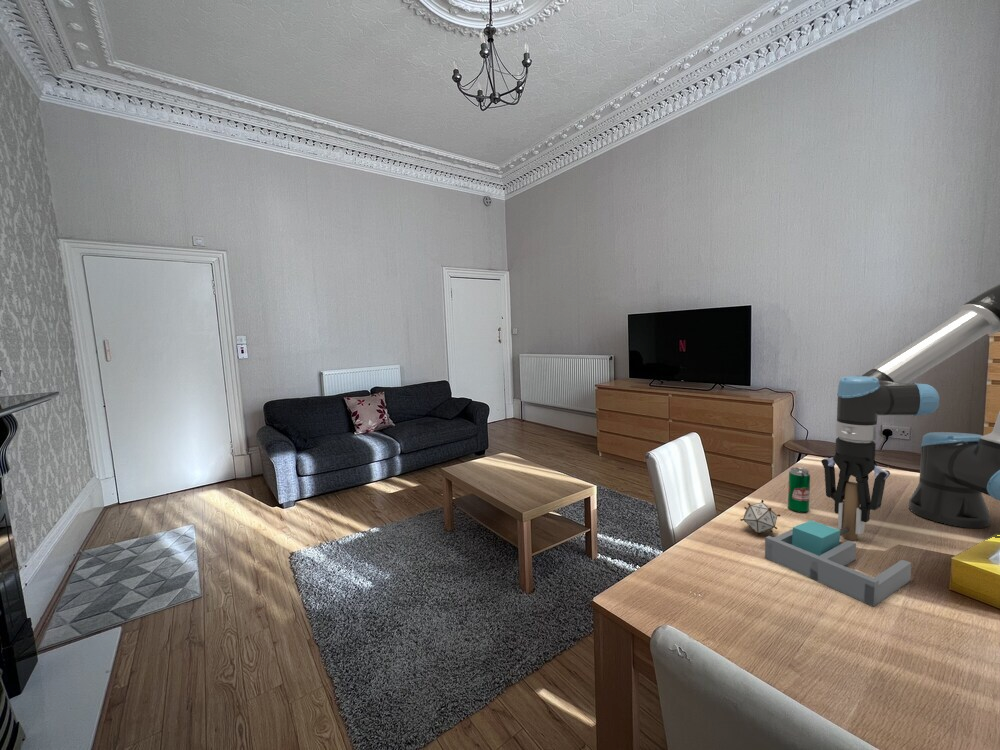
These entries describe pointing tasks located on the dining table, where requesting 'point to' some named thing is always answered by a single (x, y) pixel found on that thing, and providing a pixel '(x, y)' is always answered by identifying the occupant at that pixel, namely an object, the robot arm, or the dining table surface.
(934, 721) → the dining table surface
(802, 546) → the teal block-headed stick
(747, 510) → the game die
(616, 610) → the dining table surface
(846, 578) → the lane rack
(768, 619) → the dining table surface
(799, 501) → the soda can
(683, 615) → the dining table surface
